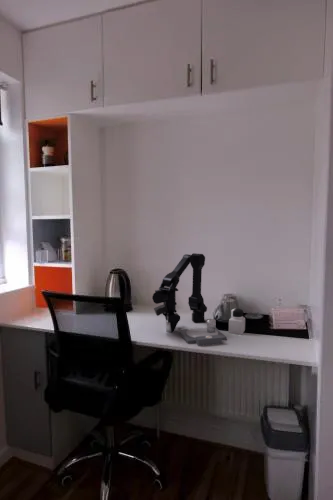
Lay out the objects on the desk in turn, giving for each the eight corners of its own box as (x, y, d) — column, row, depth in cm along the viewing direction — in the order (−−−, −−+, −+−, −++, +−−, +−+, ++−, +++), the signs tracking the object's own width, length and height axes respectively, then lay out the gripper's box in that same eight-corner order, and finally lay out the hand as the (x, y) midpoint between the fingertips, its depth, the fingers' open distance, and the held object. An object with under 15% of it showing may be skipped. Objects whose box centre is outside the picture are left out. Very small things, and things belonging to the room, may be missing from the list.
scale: (214, 329, 175) (214, 323, 175) (230, 342, 156) (230, 336, 156) (179, 332, 171) (179, 326, 171) (190, 346, 152) (190, 339, 151)
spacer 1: (173, 329, 176) (173, 318, 175) (175, 332, 171) (175, 321, 171) (165, 330, 175) (165, 319, 174) (167, 333, 170) (167, 321, 170)
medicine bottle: (245, 330, 173) (245, 308, 172) (242, 334, 167) (242, 311, 166) (231, 328, 176) (232, 307, 175) (228, 332, 170) (228, 310, 169)
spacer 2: (213, 329, 169) (213, 318, 168) (216, 332, 165) (216, 321, 164) (205, 330, 168) (205, 319, 167) (208, 333, 164) (208, 321, 163)
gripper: (152, 297, 179) (152, 324, 180) (158, 305, 161) (158, 336, 162) (171, 295, 181) (171, 323, 183) (180, 304, 163) (180, 334, 165)
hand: (170, 329), depth 173 cm, fingers open, 9 cm apart
